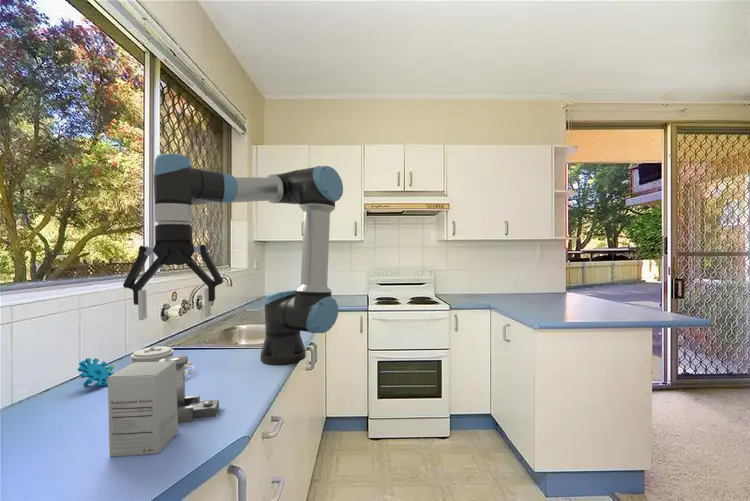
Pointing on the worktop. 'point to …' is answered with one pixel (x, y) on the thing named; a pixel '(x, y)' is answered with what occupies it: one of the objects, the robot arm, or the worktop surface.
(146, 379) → the supplement box
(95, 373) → the gear
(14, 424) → the worktop surface
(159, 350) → the lid
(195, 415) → the bolted rod clamp
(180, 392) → the pin
